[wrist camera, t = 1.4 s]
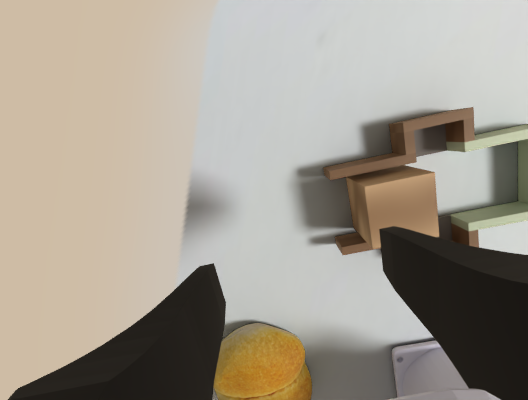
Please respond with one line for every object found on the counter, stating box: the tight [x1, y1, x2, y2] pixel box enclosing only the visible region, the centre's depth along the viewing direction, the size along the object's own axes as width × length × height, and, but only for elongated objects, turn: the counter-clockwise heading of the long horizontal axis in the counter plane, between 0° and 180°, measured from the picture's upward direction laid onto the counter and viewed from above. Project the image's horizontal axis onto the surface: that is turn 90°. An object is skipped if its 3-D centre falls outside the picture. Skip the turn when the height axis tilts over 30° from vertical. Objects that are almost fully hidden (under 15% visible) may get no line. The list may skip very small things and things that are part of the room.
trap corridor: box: [323, 107, 528, 255], centre depth 18 cm, size 10×14×2 cm
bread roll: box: [213, 323, 312, 400], centre depth 22 cm, size 8×9×4 cm
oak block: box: [346, 165, 439, 249], centre depth 18 cm, size 4×4×4 cm
